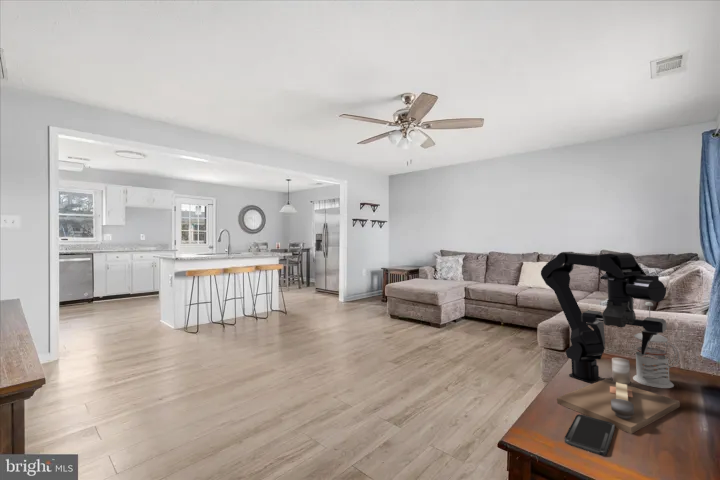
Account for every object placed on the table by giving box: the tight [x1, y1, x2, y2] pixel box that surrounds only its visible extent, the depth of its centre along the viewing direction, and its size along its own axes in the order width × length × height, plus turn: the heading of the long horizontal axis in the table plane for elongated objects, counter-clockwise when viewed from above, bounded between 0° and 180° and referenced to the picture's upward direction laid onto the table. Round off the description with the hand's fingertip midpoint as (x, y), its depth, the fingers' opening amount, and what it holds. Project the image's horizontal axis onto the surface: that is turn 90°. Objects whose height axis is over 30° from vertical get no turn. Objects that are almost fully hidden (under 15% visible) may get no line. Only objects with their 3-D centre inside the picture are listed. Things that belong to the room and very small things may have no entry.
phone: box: [564, 413, 616, 457], centre depth 78 cm, size 8×1×15 cm
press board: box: [556, 378, 681, 435], centre depth 91 cm, size 18×25×2 cm
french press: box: [632, 301, 680, 389], centre depth 105 cm, size 10×12×25 cm
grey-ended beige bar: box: [611, 357, 634, 416], centre depth 89 cm, size 20×4×8 cm, turn 142°
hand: (622, 350), depth 96 cm, fingers open, 9 cm apart
